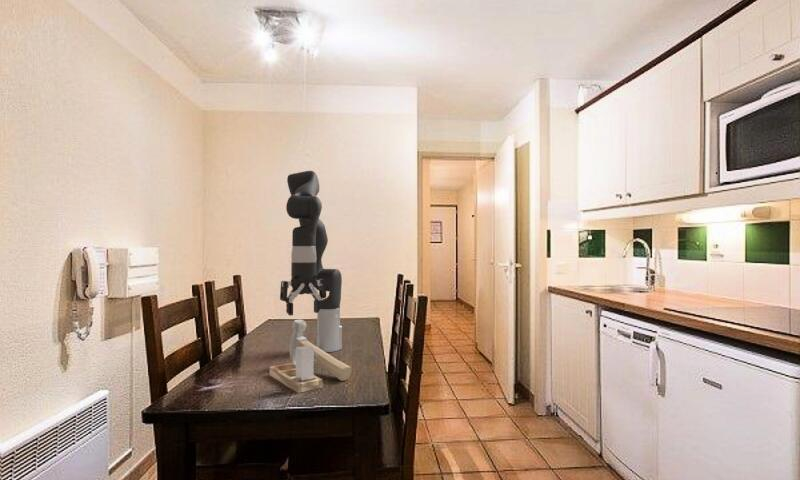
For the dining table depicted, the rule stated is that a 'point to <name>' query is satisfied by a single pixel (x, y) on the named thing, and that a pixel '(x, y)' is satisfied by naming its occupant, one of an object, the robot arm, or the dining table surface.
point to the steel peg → (304, 363)
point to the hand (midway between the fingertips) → (303, 313)
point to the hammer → (316, 353)
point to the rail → (294, 378)
